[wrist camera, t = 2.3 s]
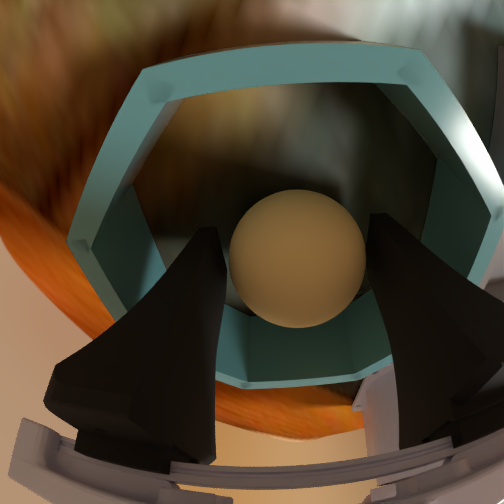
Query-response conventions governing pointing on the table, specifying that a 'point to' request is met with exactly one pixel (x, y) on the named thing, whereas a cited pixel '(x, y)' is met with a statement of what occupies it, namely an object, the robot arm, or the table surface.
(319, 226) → the ball
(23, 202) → the table surface
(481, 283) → the tray
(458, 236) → the teal octagonal ring
